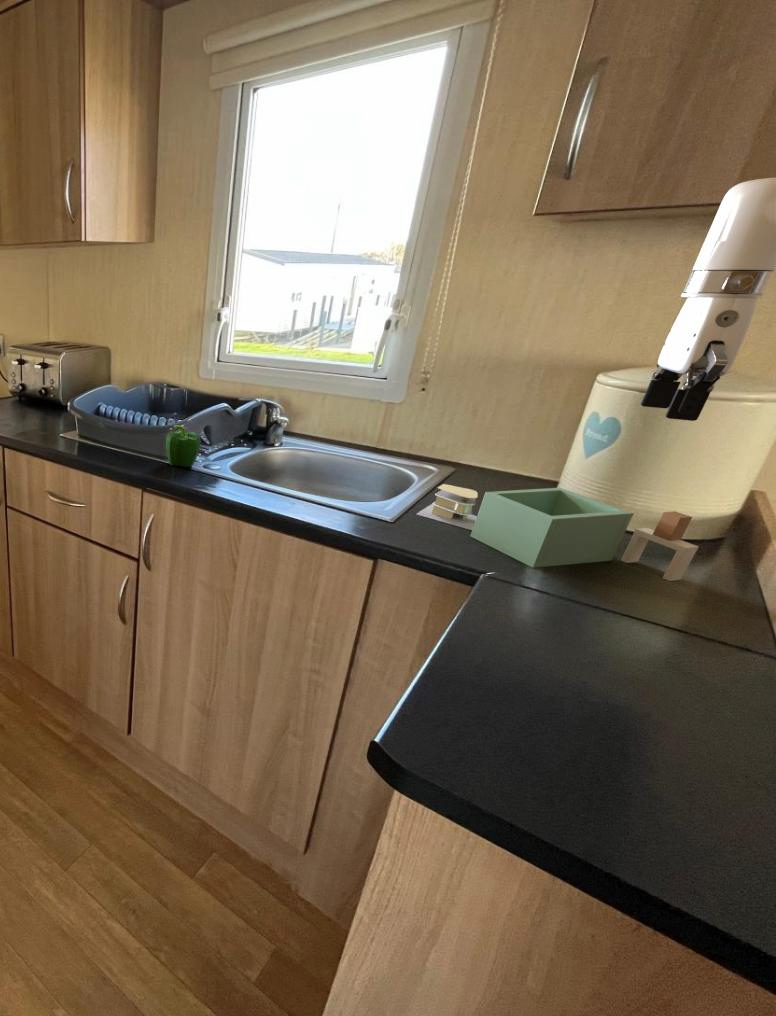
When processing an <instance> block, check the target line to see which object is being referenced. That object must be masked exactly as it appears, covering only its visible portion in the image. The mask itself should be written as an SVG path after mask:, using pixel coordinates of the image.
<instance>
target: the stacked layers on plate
mask: <svg viewBox="0 0 776 1016" xmlns="http://www.w3.org/2000/svg"><path fill="white" fill-rule="evenodd" d="M437 489H439V491H438V492H435V493H434V495H435V496H436V498H435V500H434V501H433V502H432V503H431V504H429V505H427V506H426V507H424V508H423V509H422V510H420V511H418V512H417V513H416V516H420V517H424V518H428V519H430V520H431V519H432V520H435V521H438V522H440V523H441V522H442V523H444V524H449V525H453V526H455V527H459V528H463V529H466V530H470V531H472V530H473V527H474V524H475V521H476V518H477V515H474V514H473V506H476V499H477V498H478V497H479V495H478V493H479V492H477V490H474V489H472V488H471V489H470V488H466V487H461V486H455V485H451V484H446V483H443V484H441V485H439V486H437Z"/></svg>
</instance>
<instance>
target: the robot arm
mask: <svg viewBox="0 0 776 1016" xmlns="http://www.w3.org/2000/svg"><path fill="white" fill-rule="evenodd" d="M775 272H776V177H766V178H757V179H753V180H745V181H743V182H740V183H737V184H736V185H734V186H732V187H731V188H729V190H728V191H727V192H726V194H724V196H723V198H722V200H721V203H720V204H719V207H718V210H717V212H716V214H715V216H714V219H713V221H712V223H711V226H710V228H709V230H708V232H707V235H706V237H705V239H704V241H703V244H702V246H701V249H700V251H699V253H698V255H697V258H696V260H695V263H694V265H693V268H692V270H691V272H690V274H689V276H688V279H687V281H686V283H685V286H684V288H683V290H682V293H681V294H680V297H681V298H687V299H686V300H685V302H684V304H683V305H682V307H681V309H680V311H679V313H678V315H677V317H676V319H675V320H674V323H673V325H672V326H671V329H670V331H669V333H668V335H667V337H666V339H665V342H664V344H663V346H662V348H661V351H660V353H659V357H658V360H657V364H656V370H654V372H653V373H652V376H651V379H650V380H649V384H648V386H647V388H646V390H645V393H644V395H643V397H642V399H641V402H640V406H641V407H644V408H645V407H646V408H655V409H667V411H666V413H665V418H667V419H670V420H679V421H689V422H690V421H691V422H696V421H697V420H698V419H699V418H700V415H701V413H702V411H703V409H704V407H705V405H706V403H707V401H708V400H709V397H710V394H711V393H712V392H713V391H714V390H715V387H716V383H717V382H718V381H719V380H720V379H721V377H723V376H725V375H727V374H728V373H730V372H731V370H732V368H733V366H734V363H735V361H736V359H737V356H738V354H739V351H740V350H741V347H742V345H743V343H744V340H745V338H746V335H747V333H748V330H749V328H750V325H751V323H752V320H753V317H754V314H755V311H756V306H757V303H758V300H761V299H762V298H763V296H764V294H765V292H766V290H767V288H768V287H769V284H770V282H771V280H772V278H773V276H774V274H775ZM681 377H682V381H679V380H680V379H681ZM681 382H682V383H681ZM680 384H681V388H679V387H680Z"/></svg>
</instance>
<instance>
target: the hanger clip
mask: <svg viewBox="0 0 776 1016" xmlns="http://www.w3.org/2000/svg"><path fill="white" fill-rule="evenodd" d="M692 519H693V516H691V515H687V514H684V513H681V512H678V511H675V510H674V511H663V512H662V514H661V516H660V519H659V521H658V523H657V524H656V526H655V528H654V529H652V528H648V527H642V528H641V527H640V528H635V529H634V531H633V534H632V536H631V539H630V540H629V542H628V545H627V546H626V549H625V550H624V553H623V554H622V557H621V559H620V561H621V562H624V563H626V564H629V563H639V560H640V559H641V556H642V554H643V552H644V550H645V548H646V547H647V545H648V542H649V541H651V542H654V543H656V544H658V545H661V546H664V547H667V548H669V549H672V550H674V551H676V552H675V553H674V555H673V557H672V559H671V561H670V563H669V565H668V567H667V569H666V570H665V572H664V574H663V576H662V579H663V580H666V581H668V582H673V581H681V580H682V578H683V576H684V575H685V573H686V572H687V569H688V567H689V566H690V565H691V563H692V560H693V559H694V556H695V555H696V552H697V551H698V549H699V545H696V544H693V543H690V542H687V541H685V540H683V539H682V538H683V536H684V534H685V532H686V531H687V528H688V527H689V525H690V523H691V521H692Z"/></svg>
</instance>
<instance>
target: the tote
mask: <svg viewBox="0 0 776 1016" xmlns="http://www.w3.org/2000/svg"><path fill="white" fill-rule="evenodd" d="M476 516H477V518H476V521H475V524H474V527H473V530H471V533H470V537H471V538H473V539H475V540H477V541H478V542H481V543H483V544H485V545H487V546H489V547H490V548H492V549H494V550H496V551H499V552H500V553H502V554H504V555H506V556H509V557H510V558H512V559H514V560H516V561H519V562H521V564H524V565H527V566H528V567H530V568H532V569H535V568H544V567H554V566H555V567H557V566H566V565H567V566H568V565H577V564H588V563H590V564H591V563H599V562H601V563H602V562H611V561H613V558H614V557H615V554H616V552H617V550H618V548H619V546H620V543H621V541H622V539H623V537H624V535H625V533H626V532H627V529H628V527H629V526H630V522H631V521H632V519H633V516H634V512H632V511H628V510H626V509H623V508H620V507H617V506H614V505H611V504H608V503H605V502H602V501H600V500H596V499H594V498H591V497H588V496H585V495H582V494H579V493H576V492H574V491H571V490H568V489H566V488H562V487H550V488H549V487H548V488H533V489H516V490H515V489H513V490H499V491H498V490H497V491H496V490H495V491H485V493H484V495H483V499H482V502H481V504H480V507H479V510H478V513H477V515H476Z"/></svg>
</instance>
